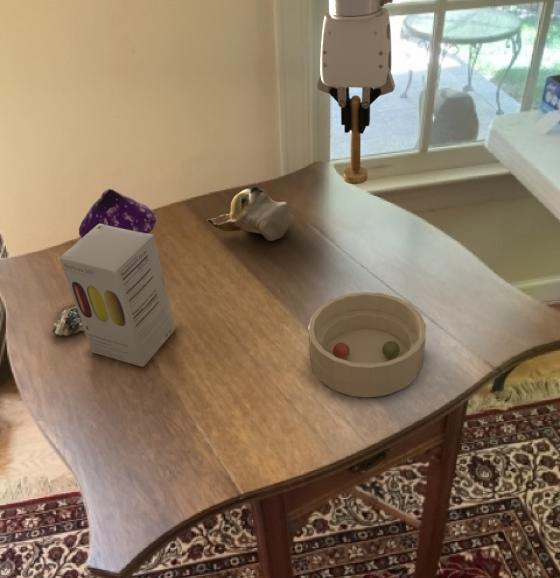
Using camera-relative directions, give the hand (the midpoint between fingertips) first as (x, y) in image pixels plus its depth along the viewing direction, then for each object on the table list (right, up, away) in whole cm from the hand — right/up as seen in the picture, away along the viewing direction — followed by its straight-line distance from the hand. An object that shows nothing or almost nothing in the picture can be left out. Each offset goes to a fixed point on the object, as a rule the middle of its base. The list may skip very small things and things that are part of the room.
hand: (355, 128), depth 105 cm
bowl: (0, -37, -13) cm, 39 cm away
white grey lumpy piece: (-44, -31, -2) cm, 54 cm away
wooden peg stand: (+1, -6, +6) cm, 9 cm away
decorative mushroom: (-37, -22, +7) cm, 44 cm away
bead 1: (-4, -36, -14) cm, 39 cm away
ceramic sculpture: (-16, -13, +13) cm, 25 cm away
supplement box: (-34, -34, -7) cm, 49 cm away
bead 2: (+3, -36, -14) cm, 39 cm away
